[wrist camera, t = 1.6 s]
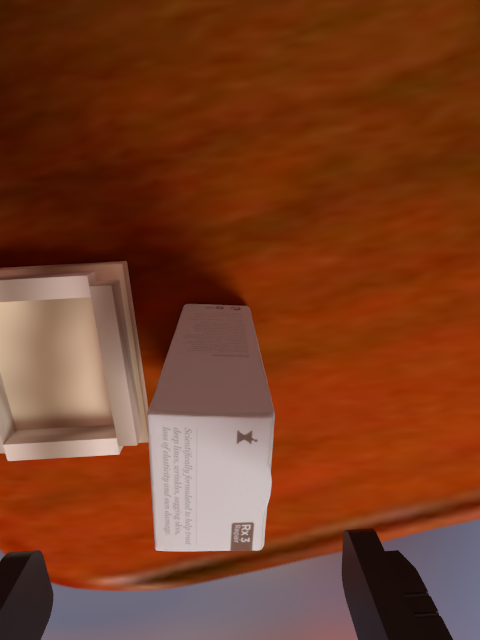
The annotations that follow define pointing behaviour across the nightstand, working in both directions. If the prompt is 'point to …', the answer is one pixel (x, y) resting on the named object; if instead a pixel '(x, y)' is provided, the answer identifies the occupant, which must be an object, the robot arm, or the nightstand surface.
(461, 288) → the nightstand surface
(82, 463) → the nightstand surface
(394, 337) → the nightstand surface
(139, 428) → the white shallow tray
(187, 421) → the skincare box
